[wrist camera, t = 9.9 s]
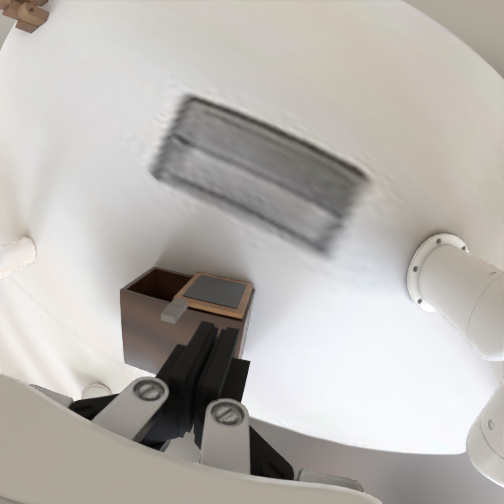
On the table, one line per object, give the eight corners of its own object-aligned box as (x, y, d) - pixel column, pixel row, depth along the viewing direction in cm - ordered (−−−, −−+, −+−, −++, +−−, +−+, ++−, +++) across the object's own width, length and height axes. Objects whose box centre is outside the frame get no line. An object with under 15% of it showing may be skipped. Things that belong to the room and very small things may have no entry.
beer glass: (24, 265, 46) (-24, 286, 31) (19, 234, 44) (-31, 251, 30) (40, 266, 45) (-11, 290, 30) (34, 234, 43) (-20, 252, 29)
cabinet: (153, 266, 41) (119, 289, 31) (255, 289, 40) (245, 322, 30) (152, 331, 44) (124, 363, 34) (242, 354, 43) (231, 395, 33)
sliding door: (198, 270, 40) (158, 312, 26) (253, 282, 39) (236, 332, 26) (197, 276, 40) (157, 319, 27) (252, 288, 39) (235, 339, 26)
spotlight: (122, 401, 49) (99, 422, 42) (118, 415, 54) (99, 434, 47) (97, 376, 50) (73, 395, 43) (96, 394, 55) (76, 411, 48)
